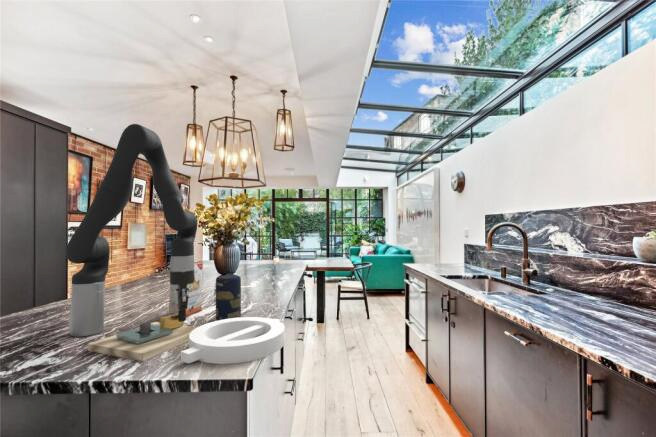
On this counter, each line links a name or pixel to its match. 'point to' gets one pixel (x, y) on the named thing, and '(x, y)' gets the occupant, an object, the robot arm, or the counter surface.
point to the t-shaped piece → (152, 330)
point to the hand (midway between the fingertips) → (181, 321)
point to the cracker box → (194, 293)
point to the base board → (142, 349)
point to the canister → (228, 297)
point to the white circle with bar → (235, 340)
